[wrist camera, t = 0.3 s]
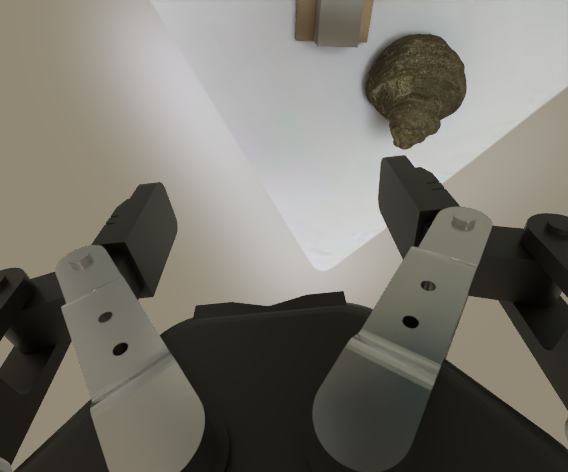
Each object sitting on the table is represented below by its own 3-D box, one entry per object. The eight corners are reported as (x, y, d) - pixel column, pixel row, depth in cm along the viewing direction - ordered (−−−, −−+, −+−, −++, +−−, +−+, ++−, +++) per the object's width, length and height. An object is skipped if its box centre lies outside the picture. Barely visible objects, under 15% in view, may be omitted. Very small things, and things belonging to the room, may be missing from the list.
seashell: (331, 96, 31) (377, 175, 36) (467, 33, 23) (502, 146, 28) (367, 42, 37) (403, 117, 42) (486, -25, 29) (513, 78, 34)
